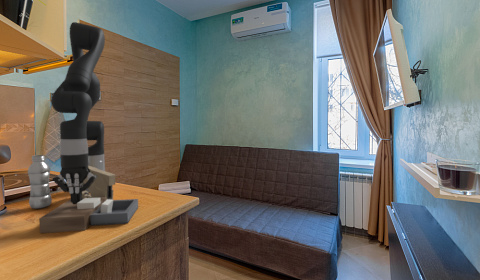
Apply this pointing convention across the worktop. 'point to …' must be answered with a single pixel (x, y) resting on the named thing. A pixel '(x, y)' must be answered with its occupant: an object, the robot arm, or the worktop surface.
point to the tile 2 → (107, 206)
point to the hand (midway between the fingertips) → (76, 203)
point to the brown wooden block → (67, 218)
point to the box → (115, 213)
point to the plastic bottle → (39, 183)
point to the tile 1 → (88, 203)
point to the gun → (100, 184)
